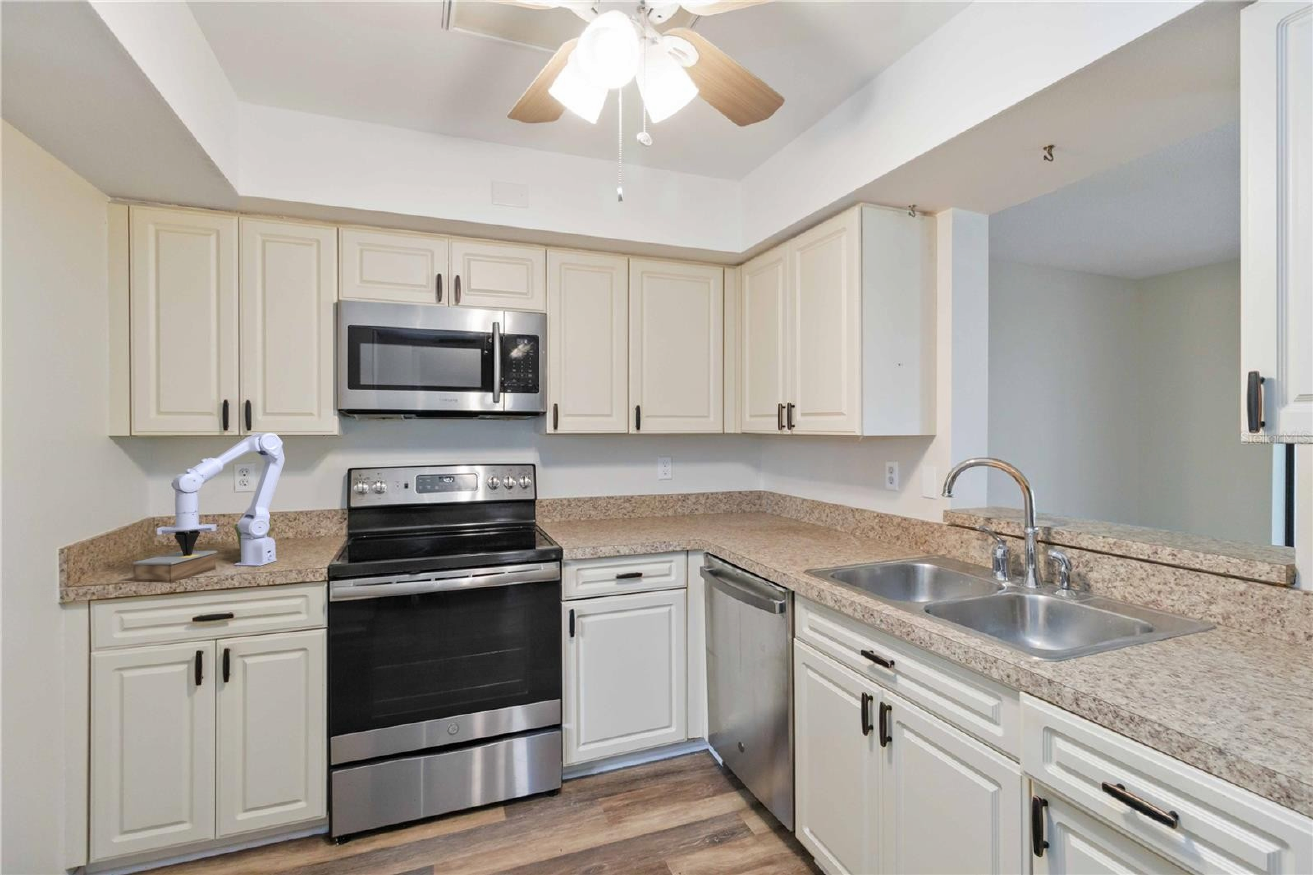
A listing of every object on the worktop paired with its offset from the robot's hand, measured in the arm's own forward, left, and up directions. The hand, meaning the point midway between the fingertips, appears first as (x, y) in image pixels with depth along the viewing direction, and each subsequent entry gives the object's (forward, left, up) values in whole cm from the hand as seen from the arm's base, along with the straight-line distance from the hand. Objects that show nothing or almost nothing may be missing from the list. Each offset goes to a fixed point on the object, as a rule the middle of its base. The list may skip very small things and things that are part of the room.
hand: (187, 555), depth 187 cm
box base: (+3, +1, -6) cm, 7 cm away
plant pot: (+1, -28, -6) cm, 29 cm away
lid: (+3, +1, -1) cm, 3 cm away
